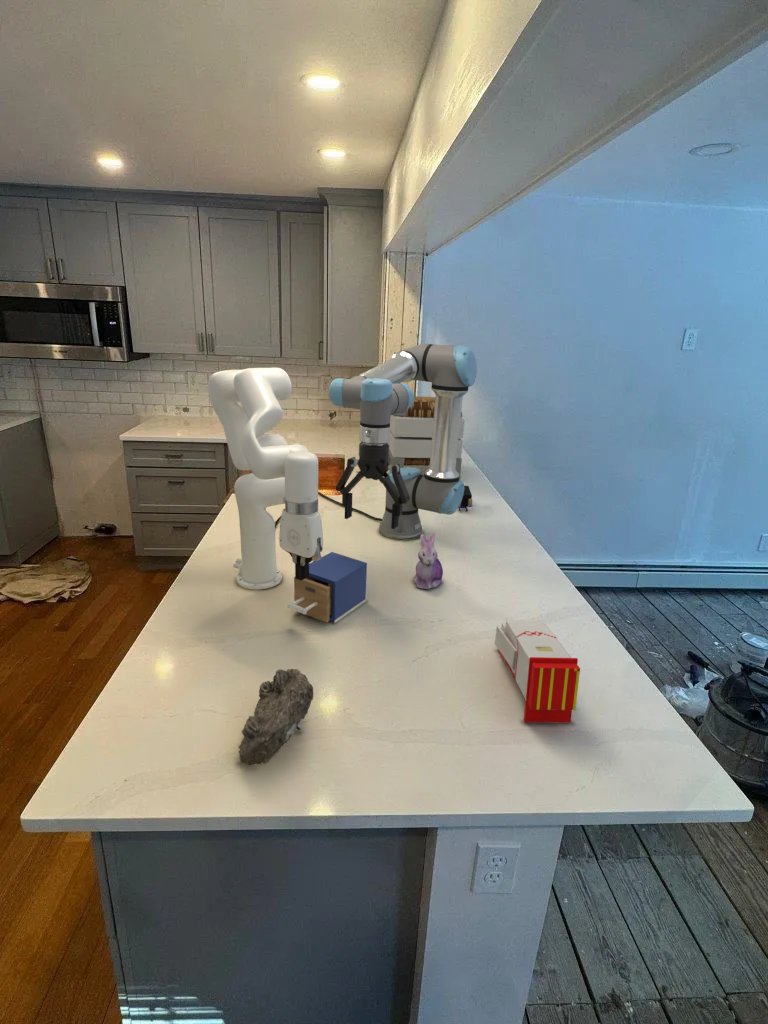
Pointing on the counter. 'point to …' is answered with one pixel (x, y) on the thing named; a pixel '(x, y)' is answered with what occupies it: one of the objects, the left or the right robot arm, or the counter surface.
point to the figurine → (428, 565)
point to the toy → (540, 670)
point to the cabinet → (342, 582)
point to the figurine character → (466, 499)
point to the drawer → (312, 598)
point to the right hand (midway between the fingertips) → (371, 522)
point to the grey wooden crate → (416, 435)
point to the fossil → (275, 716)
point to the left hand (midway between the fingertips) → (302, 577)
